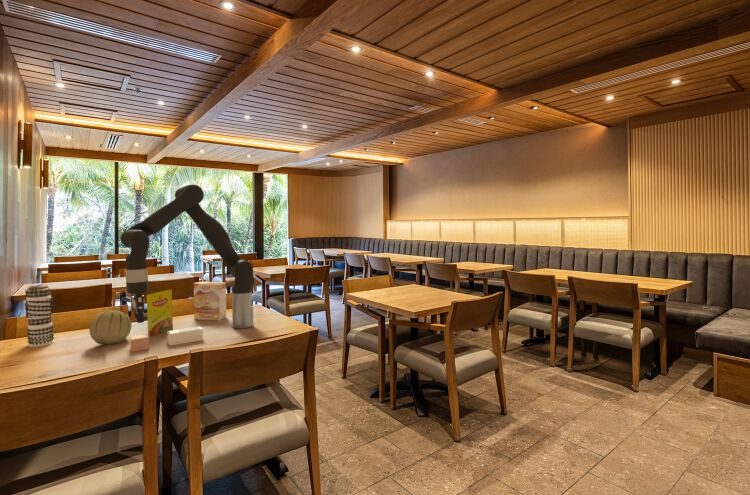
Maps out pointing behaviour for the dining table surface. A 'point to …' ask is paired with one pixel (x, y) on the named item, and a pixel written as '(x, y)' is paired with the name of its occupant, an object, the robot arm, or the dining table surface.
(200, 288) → the coffeecake box
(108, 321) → the cantaloupe
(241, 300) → the robot arm
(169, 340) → the white rectangular block
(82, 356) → the dining table surface
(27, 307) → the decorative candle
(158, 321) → the food package
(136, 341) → the stub
